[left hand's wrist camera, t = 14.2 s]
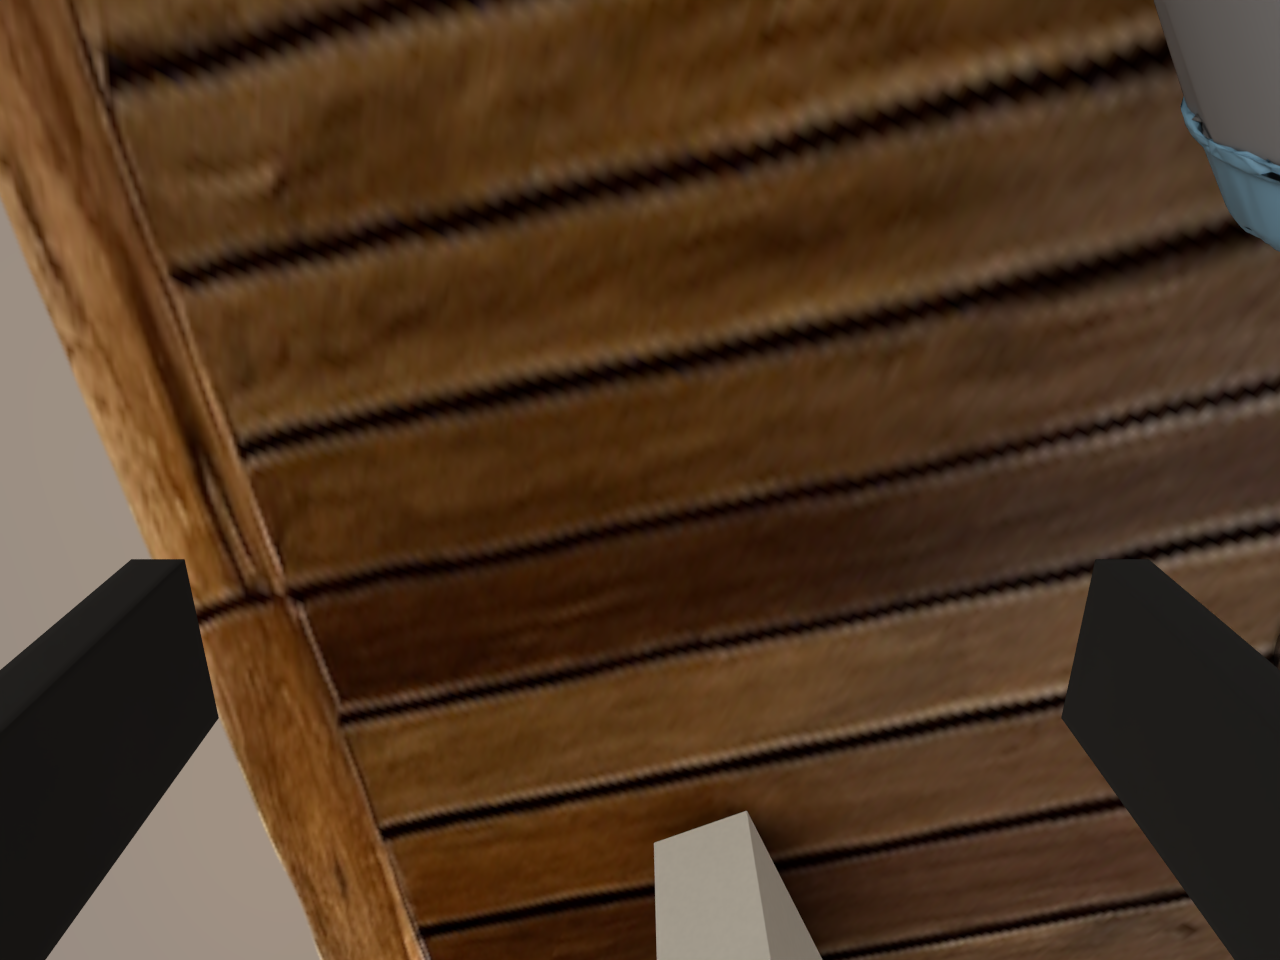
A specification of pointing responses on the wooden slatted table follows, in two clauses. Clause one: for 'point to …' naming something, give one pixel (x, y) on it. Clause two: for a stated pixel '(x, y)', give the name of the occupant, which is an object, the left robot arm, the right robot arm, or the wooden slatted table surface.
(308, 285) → the wooden slatted table surface
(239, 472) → the wooden slatted table surface
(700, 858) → the box
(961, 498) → the wooden slatted table surface
